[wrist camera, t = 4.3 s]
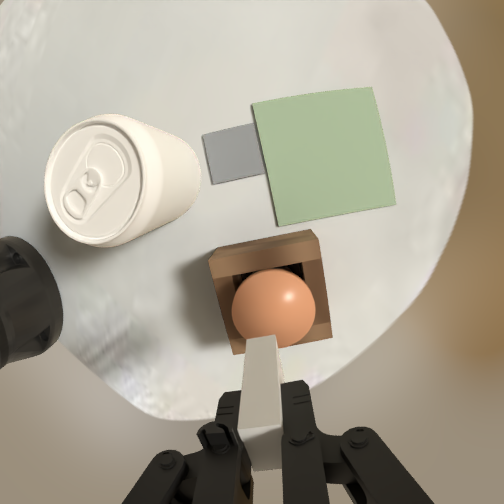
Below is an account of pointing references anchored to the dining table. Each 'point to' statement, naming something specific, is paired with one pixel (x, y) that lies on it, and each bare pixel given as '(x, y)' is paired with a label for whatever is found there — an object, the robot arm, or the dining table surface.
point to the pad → (324, 154)
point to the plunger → (274, 306)
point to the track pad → (233, 153)
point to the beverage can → (118, 180)
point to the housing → (264, 257)
